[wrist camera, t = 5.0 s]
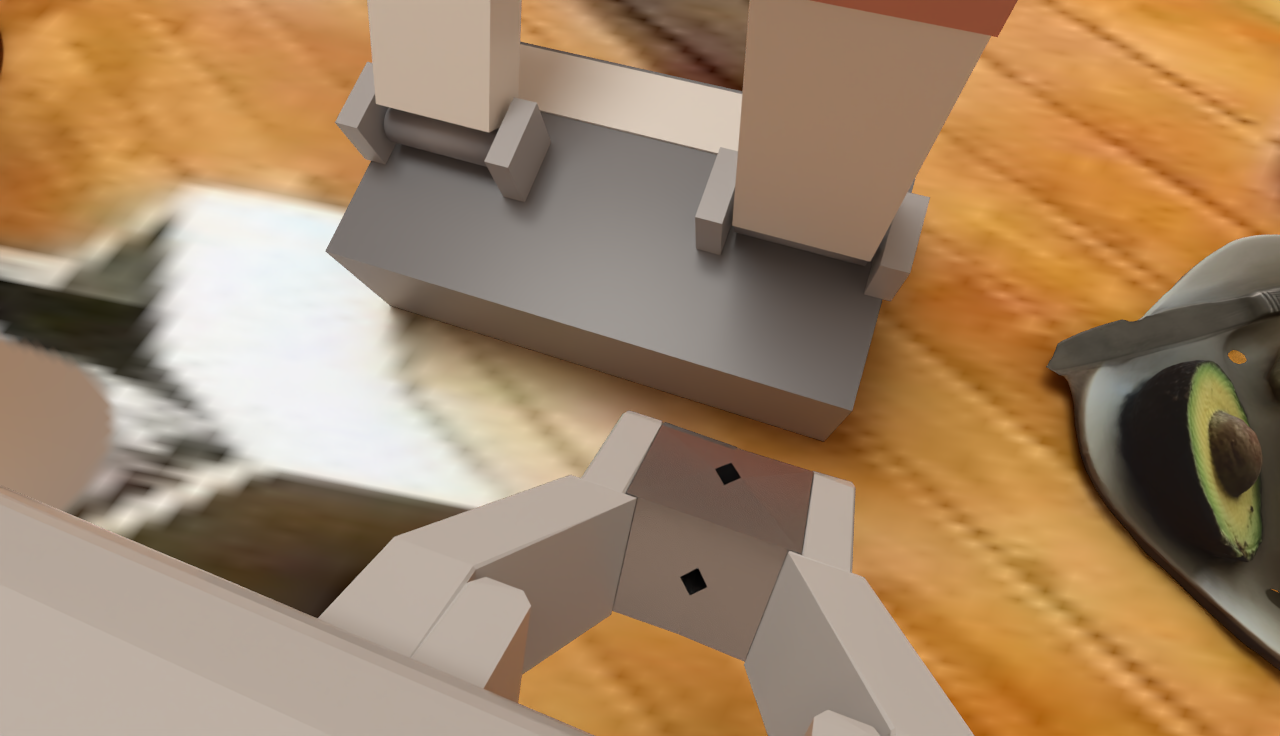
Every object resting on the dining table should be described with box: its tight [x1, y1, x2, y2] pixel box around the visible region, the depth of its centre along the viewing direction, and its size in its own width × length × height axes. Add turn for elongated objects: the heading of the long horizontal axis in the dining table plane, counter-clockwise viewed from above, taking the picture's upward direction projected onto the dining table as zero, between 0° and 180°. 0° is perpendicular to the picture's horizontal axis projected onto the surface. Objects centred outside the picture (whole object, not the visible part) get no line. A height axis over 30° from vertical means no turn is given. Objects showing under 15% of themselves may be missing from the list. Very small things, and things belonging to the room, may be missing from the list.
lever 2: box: [732, 0, 1018, 266], centre depth 19 cm, size 3×5×14 cm, turn 71°
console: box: [326, 42, 930, 441], centre depth 29 cm, size 12×23×8 cm, turn 71°
